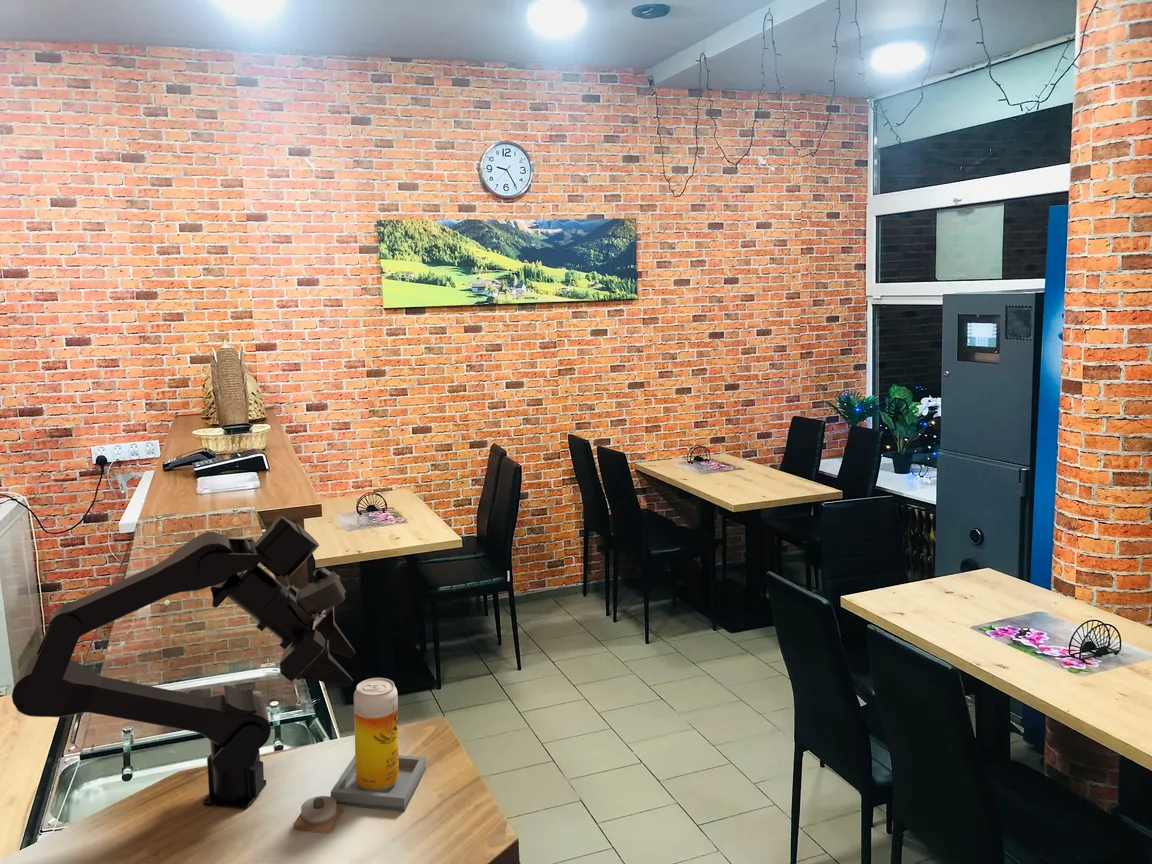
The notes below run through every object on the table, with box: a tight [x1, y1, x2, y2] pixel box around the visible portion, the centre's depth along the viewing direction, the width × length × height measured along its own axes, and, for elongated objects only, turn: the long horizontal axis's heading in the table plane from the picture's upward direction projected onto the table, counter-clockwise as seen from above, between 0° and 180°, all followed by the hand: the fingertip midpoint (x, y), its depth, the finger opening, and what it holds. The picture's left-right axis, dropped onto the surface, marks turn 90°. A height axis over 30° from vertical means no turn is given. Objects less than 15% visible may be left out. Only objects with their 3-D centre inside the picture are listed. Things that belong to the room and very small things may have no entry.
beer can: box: [353, 677, 399, 792], centre depth 127 cm, size 6×6×15 cm
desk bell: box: [293, 795, 345, 834], centre depth 120 cm, size 5×5×3 cm
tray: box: [330, 754, 427, 812], centre depth 128 cm, size 11×11×2 cm
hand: (352, 668), depth 127 cm, fingers open, 9 cm apart
